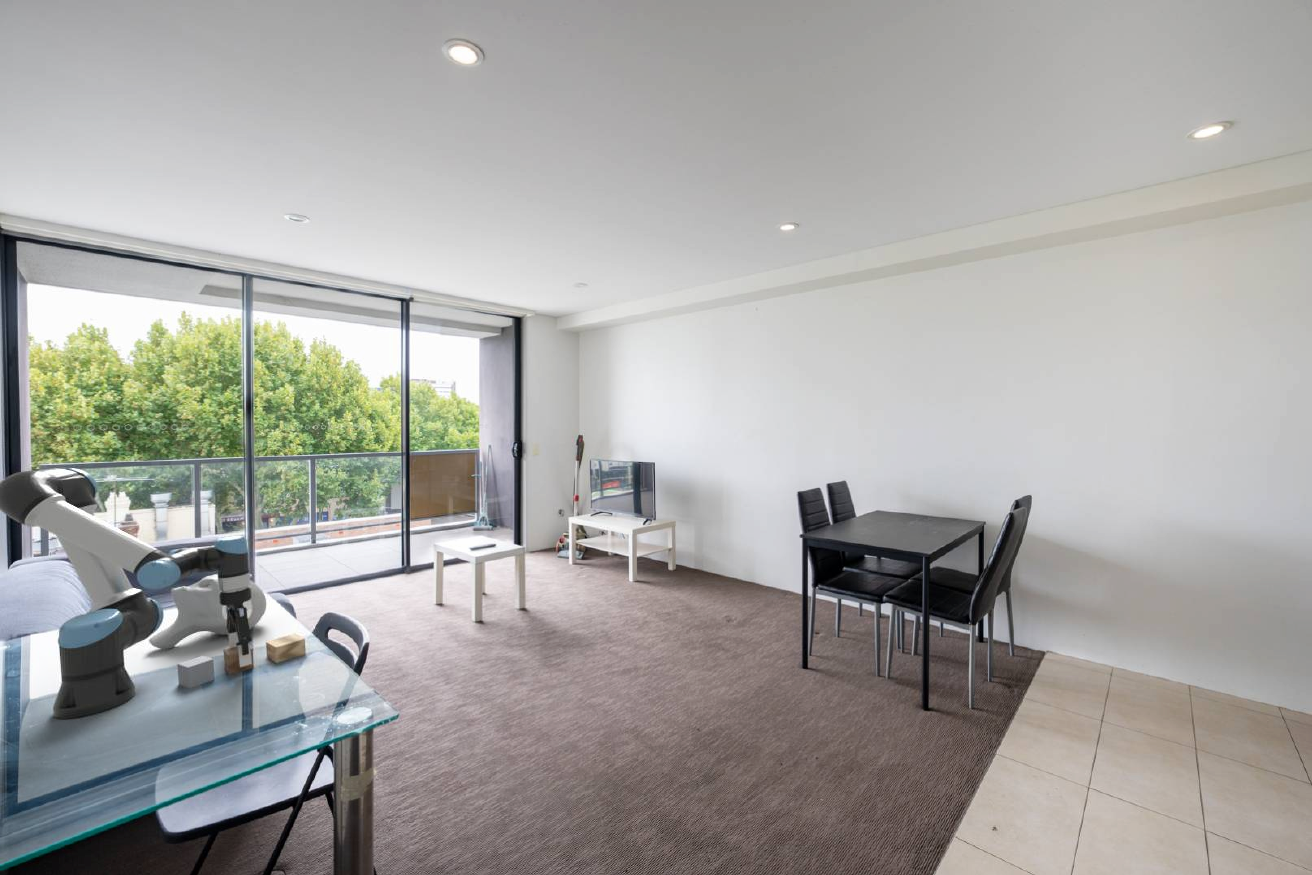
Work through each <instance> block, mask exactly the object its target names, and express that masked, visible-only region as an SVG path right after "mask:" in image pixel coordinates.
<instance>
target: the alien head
mask: <svg viewBox="0 0 1312 875" xmlns="http://www.w3.org/2000/svg"><path fill="white" fill-rule="evenodd" d="M248 587H250V588H251V599H250V600H251V605H252V613H251V615H250V617H249V618H248V623H249V629H250V630H251V629H252V628H253V627H254V626H256V625H257V624H258V623H259V622H260V620H261V619H262V618H263V616H264V615H265V612H266V609H267V598H266V595H265V593H264V591H263V590H262V589H261V588H260V587H259V585H257V584H256V583H255V582H254V581H252V580H251V579H250V585H249V586H248ZM220 592H221V591H219V588H218V574H212V575H207V576H205V577H203V578H201V580H199V581H197V582H195V583H193V584H191V585H189V586H185V585H182V586H178V587H175V588H171V590H170V594H171V596H172V599H173V602H174V604H175V607H176V609H177V613H178V614H177V618H176V620H174V622H173V623H172V624H171V625H170V626H168V627H167V628H165V629H164V630H162V631H160V632H158V633H156V634H154V635H153V636H151V638H149V640H148V642H149V644H150V645H151V646H152V647H154V648H157V649H162V650H163V649H166V650H167V649H168V650H170V649H173V648H175V646H177V645H178V644H179V643H180V642H181V641H182V640H184V639H186V638H188V637H190V636H192V635H193V634H197V633H201V632H210V633H213V634H216V635H223V636H229V635H228V634H230V633H228V630H227V629H226V627H227V622H225V621H224V620H223V618H222V605H221V604H220V598H219V593H220Z"/></svg>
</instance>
